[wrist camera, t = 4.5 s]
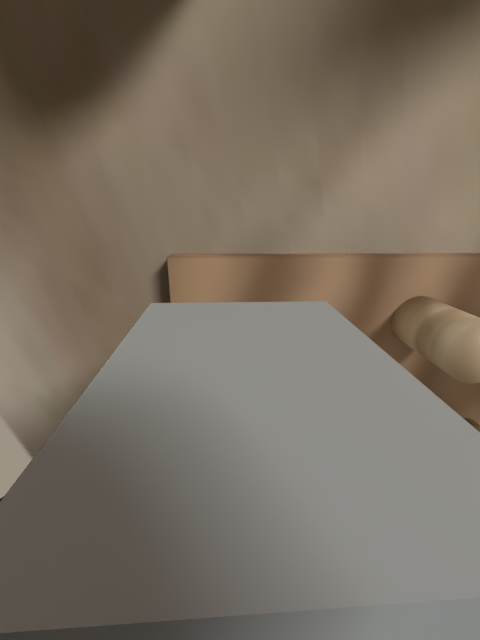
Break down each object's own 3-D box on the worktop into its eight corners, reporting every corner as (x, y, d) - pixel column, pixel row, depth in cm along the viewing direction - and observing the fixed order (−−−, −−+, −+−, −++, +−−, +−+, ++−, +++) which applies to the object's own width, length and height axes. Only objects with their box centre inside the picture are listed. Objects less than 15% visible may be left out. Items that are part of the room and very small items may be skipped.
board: (523, 253, 20) (568, 259, 17) (459, 448, 25) (485, 474, 23) (171, 254, 18) (163, 261, 16) (186, 460, 24) (182, 490, 21)
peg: (445, 295, 19) (522, 323, 14) (433, 342, 20) (500, 382, 15) (396, 296, 18) (457, 325, 14) (387, 343, 19) (440, 384, 15)
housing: (325, 301, 10) (656, 583, 2) (310, 438, 12) (465, 831, 4) (151, 303, 9) (-105, 641, 2) (165, 444, 11) (61, 879, 4)
